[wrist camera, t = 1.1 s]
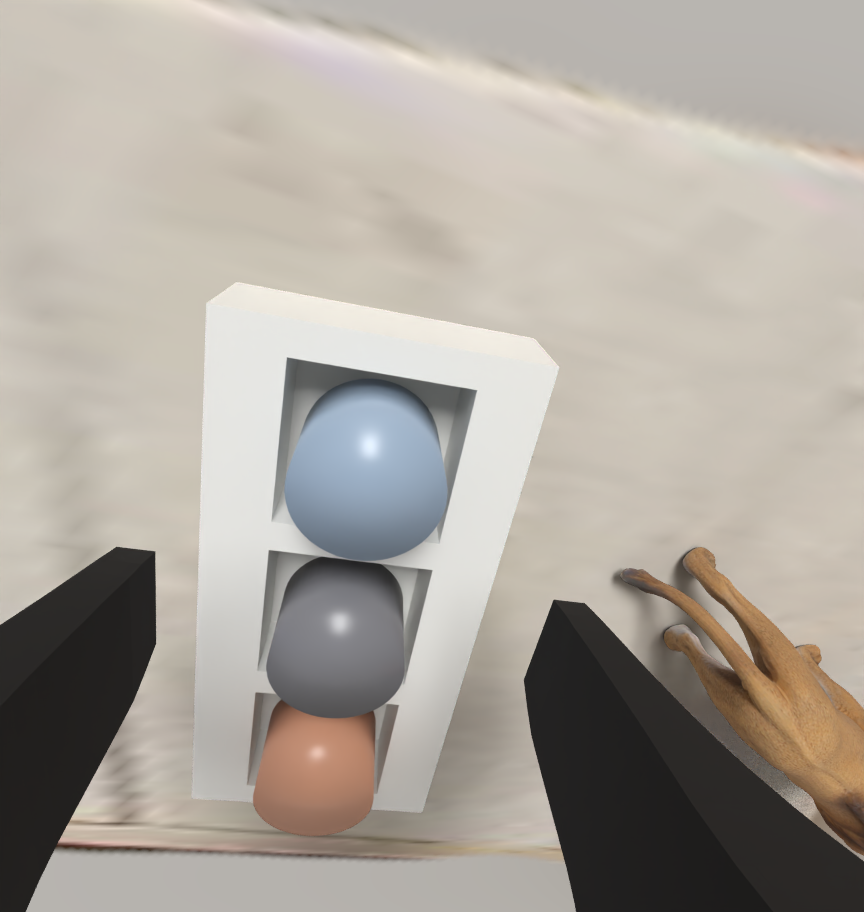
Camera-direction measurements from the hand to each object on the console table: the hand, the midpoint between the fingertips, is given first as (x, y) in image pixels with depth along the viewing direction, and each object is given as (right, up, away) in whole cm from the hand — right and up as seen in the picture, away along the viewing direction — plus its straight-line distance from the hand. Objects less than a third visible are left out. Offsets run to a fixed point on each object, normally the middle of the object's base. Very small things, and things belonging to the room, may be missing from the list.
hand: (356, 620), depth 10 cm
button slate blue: (0, +3, +7) cm, 7 cm away
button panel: (-2, -1, +11) cm, 11 cm away
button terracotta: (-3, -7, +12) cm, 14 cm away
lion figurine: (+15, -5, +14) cm, 21 cm away
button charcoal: (-2, -2, +9) cm, 10 cm away
